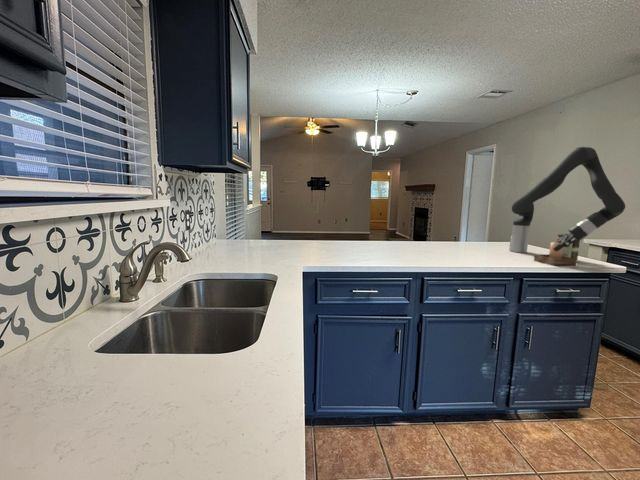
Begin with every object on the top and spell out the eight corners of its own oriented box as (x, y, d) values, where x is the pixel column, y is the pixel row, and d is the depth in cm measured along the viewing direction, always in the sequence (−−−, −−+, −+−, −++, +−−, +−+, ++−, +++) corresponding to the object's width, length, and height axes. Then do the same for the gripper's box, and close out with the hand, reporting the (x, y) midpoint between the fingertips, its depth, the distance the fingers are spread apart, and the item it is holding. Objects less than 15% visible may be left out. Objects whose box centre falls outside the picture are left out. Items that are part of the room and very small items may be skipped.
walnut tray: (533, 260, 178) (534, 254, 177) (553, 260, 180) (554, 254, 179) (554, 266, 165) (555, 259, 164) (575, 265, 167) (576, 259, 167)
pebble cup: (545, 260, 175) (548, 241, 173) (554, 260, 175) (556, 241, 174) (554, 262, 169) (557, 243, 168) (563, 262, 170) (566, 243, 169)
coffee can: (572, 258, 185) (576, 234, 183) (580, 262, 176) (584, 237, 174) (552, 257, 189) (555, 233, 187) (558, 260, 179) (561, 236, 177)
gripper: (573, 222, 172) (545, 242, 179) (580, 225, 160) (550, 245, 166) (584, 233, 171) (555, 252, 177) (592, 236, 158) (561, 256, 165)
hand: (552, 248), depth 172 cm, fingers open, 8 cm apart
